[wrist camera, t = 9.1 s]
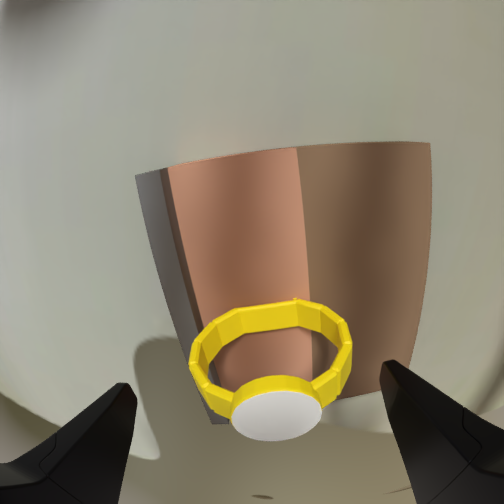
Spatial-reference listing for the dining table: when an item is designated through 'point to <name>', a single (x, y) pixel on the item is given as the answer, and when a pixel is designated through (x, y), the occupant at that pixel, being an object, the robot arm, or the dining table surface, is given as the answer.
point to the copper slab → (296, 253)
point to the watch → (275, 386)
